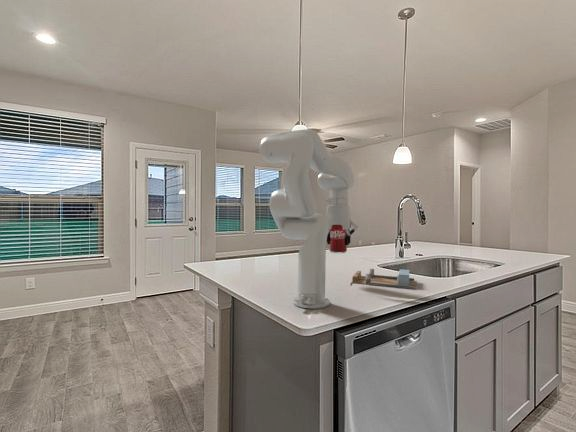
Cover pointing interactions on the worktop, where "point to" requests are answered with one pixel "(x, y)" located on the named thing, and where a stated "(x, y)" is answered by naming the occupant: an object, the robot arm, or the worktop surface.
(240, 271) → the worktop surface
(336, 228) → the soda can
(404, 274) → the jaw
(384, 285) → the board
